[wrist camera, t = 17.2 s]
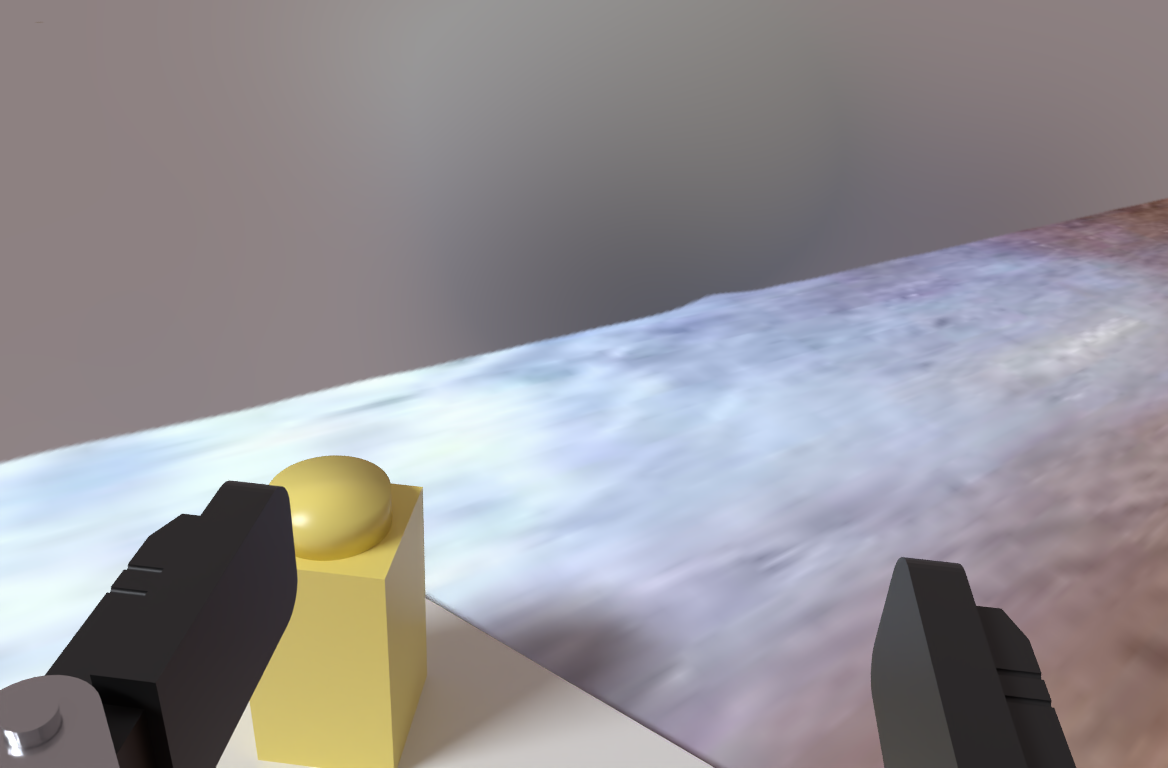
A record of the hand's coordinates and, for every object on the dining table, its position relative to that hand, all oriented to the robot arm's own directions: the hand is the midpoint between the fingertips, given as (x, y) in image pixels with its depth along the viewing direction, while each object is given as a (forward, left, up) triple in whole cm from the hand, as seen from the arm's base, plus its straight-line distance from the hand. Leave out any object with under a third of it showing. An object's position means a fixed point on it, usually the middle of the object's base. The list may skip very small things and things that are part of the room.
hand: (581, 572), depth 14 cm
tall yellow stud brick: (-13, -21, -29) cm, 38 cm away
